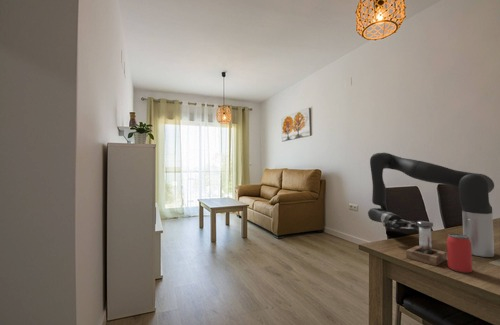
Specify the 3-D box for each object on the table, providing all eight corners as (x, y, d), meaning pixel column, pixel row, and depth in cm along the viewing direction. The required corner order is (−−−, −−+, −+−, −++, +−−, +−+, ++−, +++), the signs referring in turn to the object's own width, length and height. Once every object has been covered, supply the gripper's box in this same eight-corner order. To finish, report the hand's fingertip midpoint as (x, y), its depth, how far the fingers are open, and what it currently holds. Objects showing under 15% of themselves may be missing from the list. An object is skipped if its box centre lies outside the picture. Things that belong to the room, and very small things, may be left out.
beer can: (463, 274, 81) (462, 239, 81) (443, 267, 87) (441, 234, 87) (477, 272, 82) (475, 237, 83) (456, 264, 89) (455, 232, 89)
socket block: (417, 252, 102) (417, 245, 102) (446, 259, 94) (446, 252, 94) (406, 257, 96) (406, 250, 97) (436, 265, 88) (435, 257, 88)
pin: (421, 255, 99) (420, 220, 99) (436, 259, 94) (435, 222, 95) (415, 258, 96) (414, 222, 96) (430, 262, 92) (429, 224, 92)
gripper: (376, 213, 124) (391, 219, 108) (406, 213, 123) (425, 220, 107) (377, 227, 124) (392, 236, 108) (406, 227, 122) (426, 237, 106)
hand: (408, 228), depth 107 cm, fingers open, 8 cm apart
